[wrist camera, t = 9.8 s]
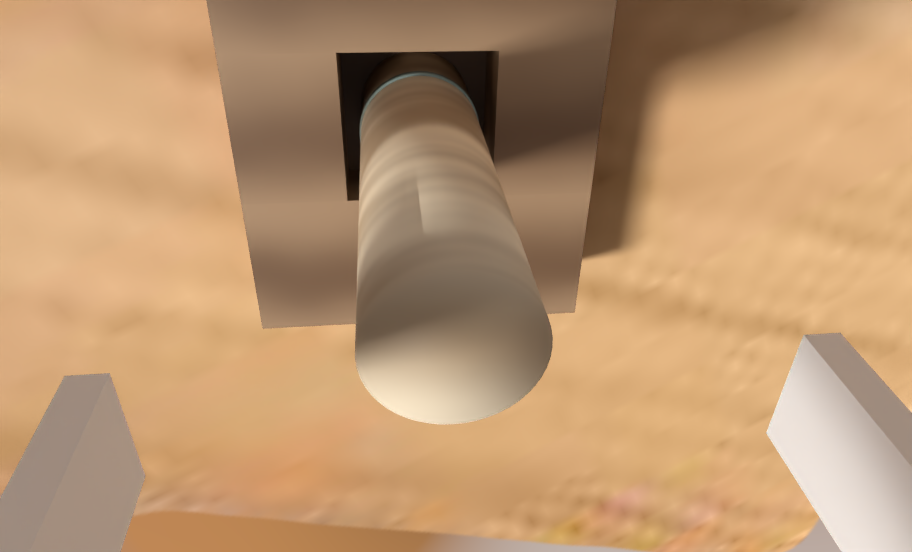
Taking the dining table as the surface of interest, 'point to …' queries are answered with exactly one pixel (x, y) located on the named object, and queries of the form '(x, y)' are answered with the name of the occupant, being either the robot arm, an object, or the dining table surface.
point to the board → (338, 129)
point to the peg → (439, 255)
